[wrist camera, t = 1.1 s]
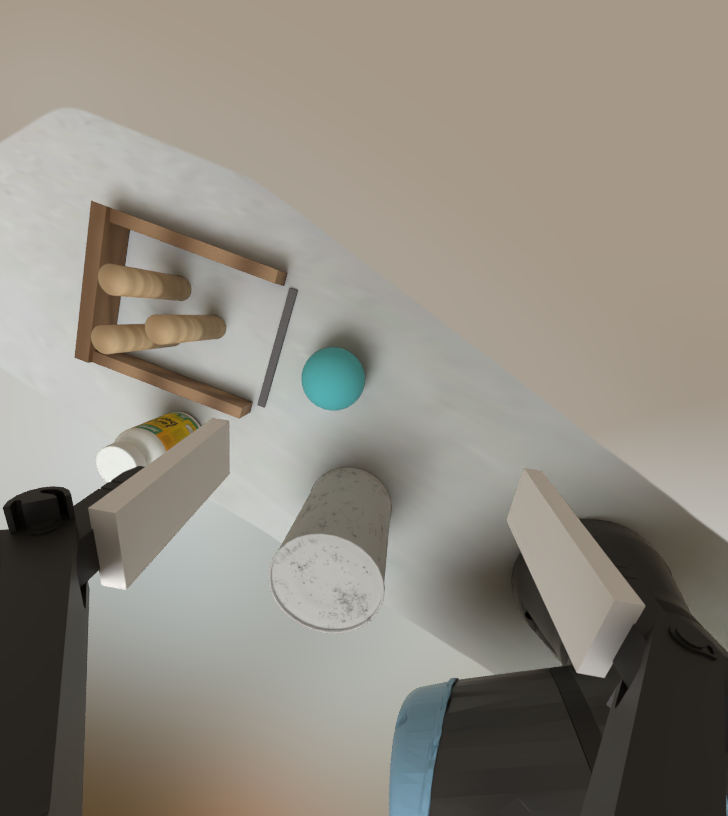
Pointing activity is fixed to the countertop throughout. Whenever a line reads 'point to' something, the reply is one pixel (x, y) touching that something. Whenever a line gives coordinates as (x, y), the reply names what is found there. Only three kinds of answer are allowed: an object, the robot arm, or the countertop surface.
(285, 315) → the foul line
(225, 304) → the countertop surface
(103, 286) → the pin
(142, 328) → the pin
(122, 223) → the frame
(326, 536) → the speckled white cylinder
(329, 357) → the ball
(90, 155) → the countertop surface
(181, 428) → the supplement bottle
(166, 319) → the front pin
